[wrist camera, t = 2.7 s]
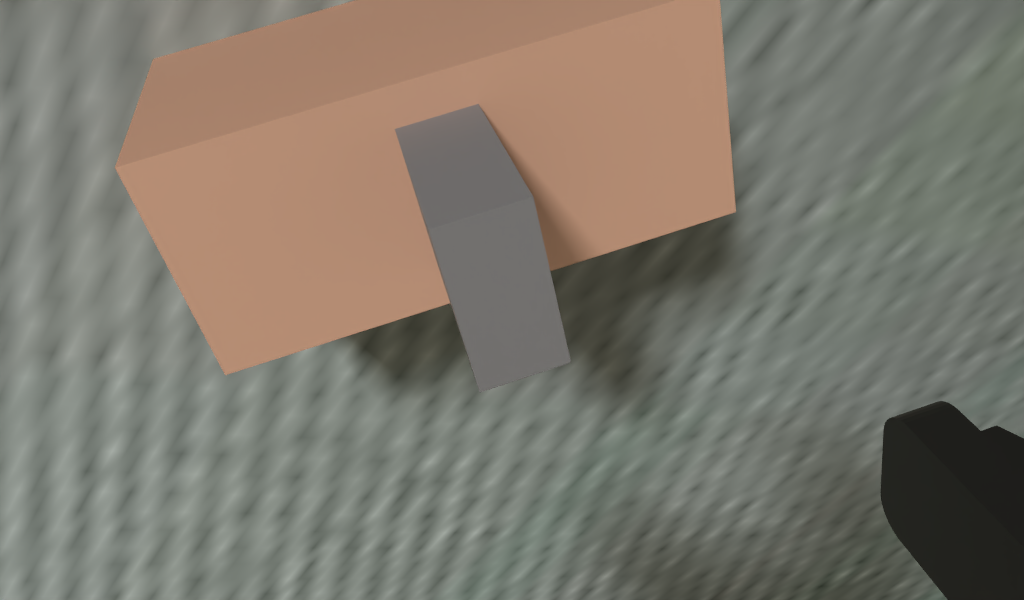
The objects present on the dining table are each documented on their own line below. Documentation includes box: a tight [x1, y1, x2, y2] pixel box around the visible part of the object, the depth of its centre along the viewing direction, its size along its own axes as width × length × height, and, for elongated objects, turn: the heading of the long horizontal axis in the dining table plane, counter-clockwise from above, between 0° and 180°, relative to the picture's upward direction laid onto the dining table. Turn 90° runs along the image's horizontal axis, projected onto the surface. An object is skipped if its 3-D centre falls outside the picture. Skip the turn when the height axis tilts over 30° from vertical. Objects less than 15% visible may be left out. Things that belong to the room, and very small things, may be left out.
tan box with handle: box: [115, 0, 736, 392], centre depth 22 cm, size 14×6×13 cm, turn 103°
